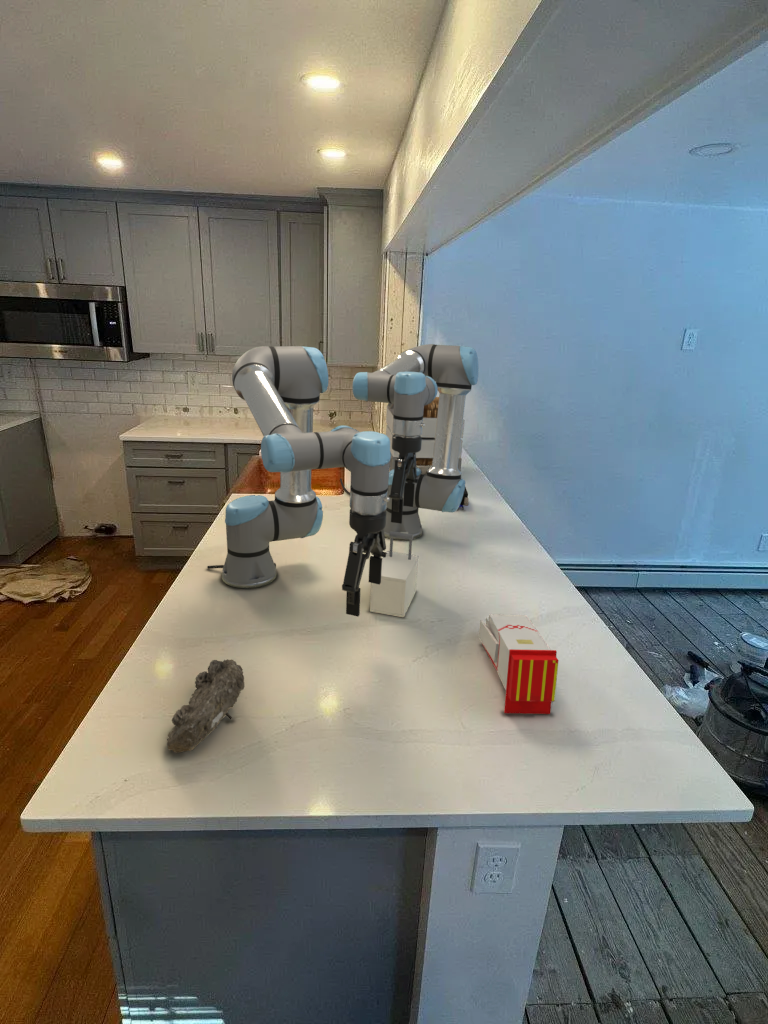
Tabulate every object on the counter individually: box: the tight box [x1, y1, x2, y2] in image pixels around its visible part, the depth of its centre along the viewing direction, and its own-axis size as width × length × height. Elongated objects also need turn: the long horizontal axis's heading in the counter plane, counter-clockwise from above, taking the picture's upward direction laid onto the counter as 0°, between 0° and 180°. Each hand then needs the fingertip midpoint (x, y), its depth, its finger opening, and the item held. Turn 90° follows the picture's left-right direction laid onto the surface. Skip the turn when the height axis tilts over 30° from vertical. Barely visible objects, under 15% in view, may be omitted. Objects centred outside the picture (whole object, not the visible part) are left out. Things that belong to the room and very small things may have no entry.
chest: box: [369, 559, 419, 618], centre depth 152 cm, size 15×9×10 cm, turn 165°
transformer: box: [385, 396, 465, 473], centre depth 268 cm, size 34×33×41 cm
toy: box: [477, 613, 560, 715], centre depth 124 cm, size 12×13×30 cm
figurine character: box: [459, 486, 470, 511], centre depth 230 cm, size 7×8×15 cm
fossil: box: [166, 658, 245, 754], centre depth 106 cm, size 22×10×15 cm
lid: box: [381, 531, 420, 583], centre depth 150 cm, size 16×9×8 cm, turn 165°
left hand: (364, 597), depth 124 cm, fingers open, 13 cm apart
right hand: (402, 514), depth 150 cm, fingers open, 13 cm apart
